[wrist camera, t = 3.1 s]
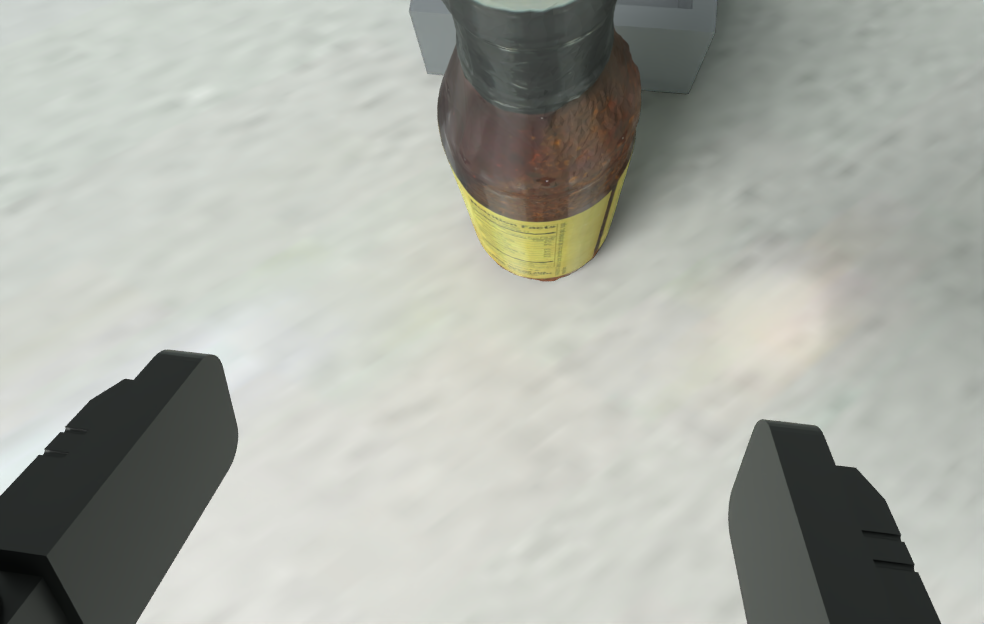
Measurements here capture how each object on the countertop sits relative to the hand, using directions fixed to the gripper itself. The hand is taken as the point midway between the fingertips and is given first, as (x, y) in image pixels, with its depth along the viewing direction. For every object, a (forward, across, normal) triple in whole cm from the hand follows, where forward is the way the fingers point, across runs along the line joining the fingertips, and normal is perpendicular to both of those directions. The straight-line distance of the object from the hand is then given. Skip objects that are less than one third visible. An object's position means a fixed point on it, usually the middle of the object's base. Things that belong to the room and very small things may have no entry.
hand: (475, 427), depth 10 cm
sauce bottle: (+22, 0, +8) cm, 23 cm away
